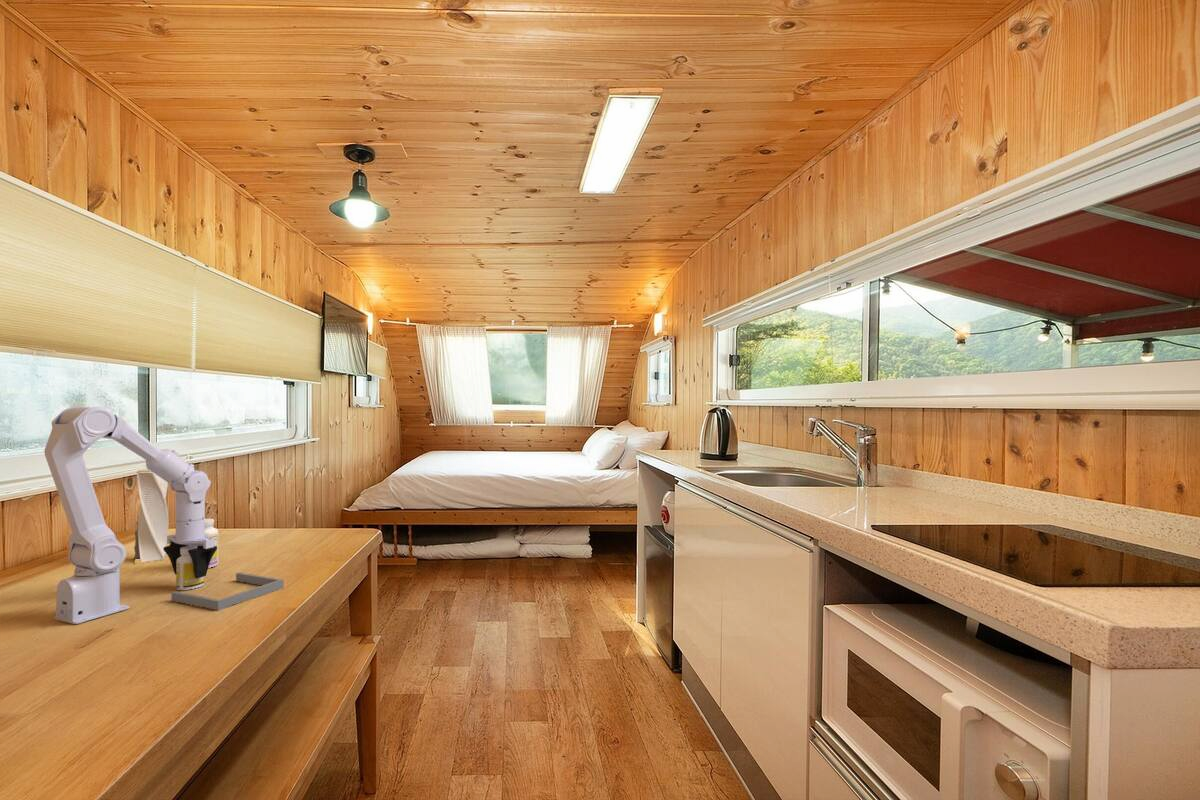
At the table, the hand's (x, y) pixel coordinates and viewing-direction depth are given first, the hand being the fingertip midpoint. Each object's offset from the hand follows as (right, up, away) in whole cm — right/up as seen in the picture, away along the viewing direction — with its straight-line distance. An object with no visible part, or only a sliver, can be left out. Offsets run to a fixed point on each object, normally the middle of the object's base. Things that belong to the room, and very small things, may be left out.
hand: (190, 575), depth 133 cm
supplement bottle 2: (-9, -3, +16) cm, 19 cm away
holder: (+13, -3, -5) cm, 14 cm away
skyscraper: (-29, -4, +24) cm, 38 cm away
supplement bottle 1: (0, -3, 0) cm, 3 cm away
